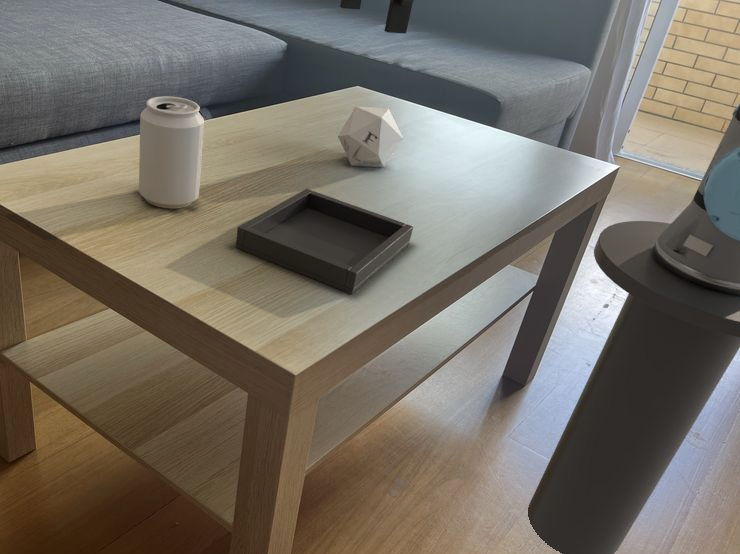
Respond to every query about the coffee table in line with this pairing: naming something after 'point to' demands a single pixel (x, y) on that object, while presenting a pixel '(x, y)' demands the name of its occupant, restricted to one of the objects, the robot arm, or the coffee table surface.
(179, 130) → the can
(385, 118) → the die
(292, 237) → the dark grey shallow tray
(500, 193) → the coffee table surface
